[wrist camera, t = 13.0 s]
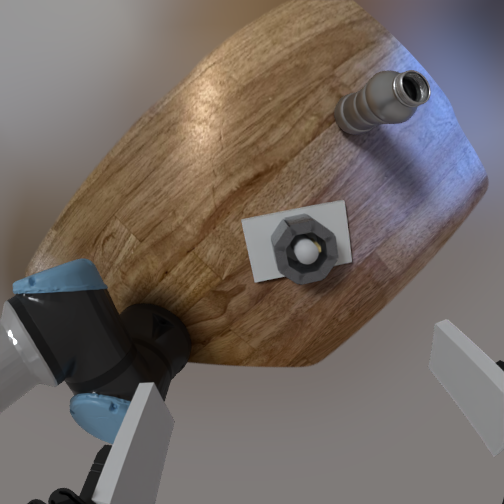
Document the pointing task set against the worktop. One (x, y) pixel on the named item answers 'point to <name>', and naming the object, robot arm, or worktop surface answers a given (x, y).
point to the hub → (296, 268)
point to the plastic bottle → (382, 101)
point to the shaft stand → (295, 238)
